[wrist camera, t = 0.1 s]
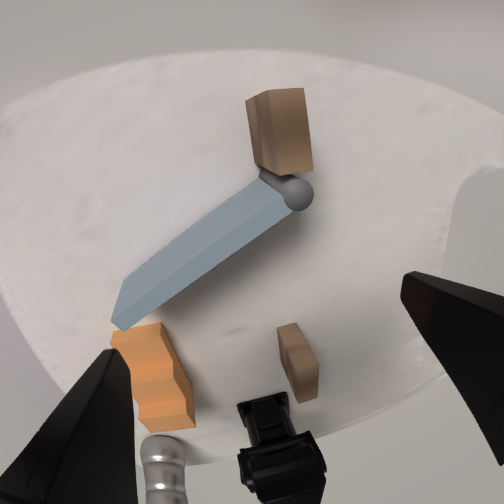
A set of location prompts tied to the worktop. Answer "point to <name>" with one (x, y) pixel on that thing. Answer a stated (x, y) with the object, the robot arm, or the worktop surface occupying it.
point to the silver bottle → (163, 470)
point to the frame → (281, 163)
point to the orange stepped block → (156, 378)
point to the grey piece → (209, 243)
